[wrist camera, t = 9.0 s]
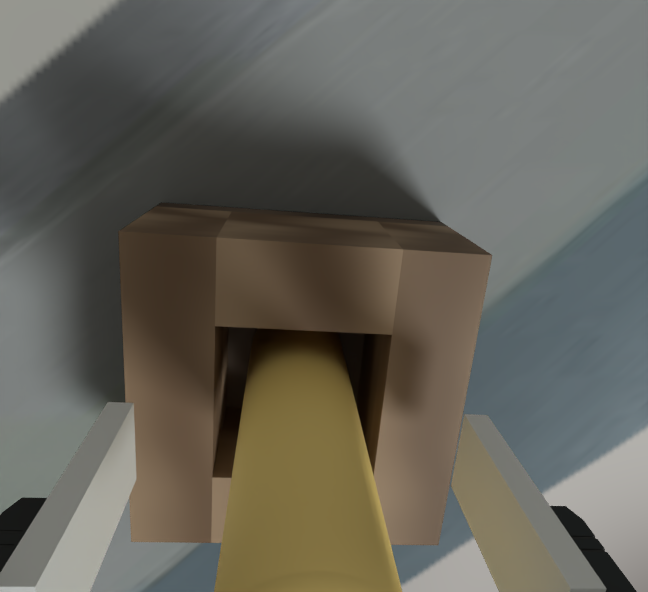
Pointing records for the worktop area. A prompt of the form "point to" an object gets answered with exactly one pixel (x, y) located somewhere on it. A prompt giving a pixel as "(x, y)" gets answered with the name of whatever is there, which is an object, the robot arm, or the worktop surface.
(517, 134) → the worktop surface
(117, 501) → the robot arm
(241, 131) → the worktop surface
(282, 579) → the dowel
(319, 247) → the socket block
